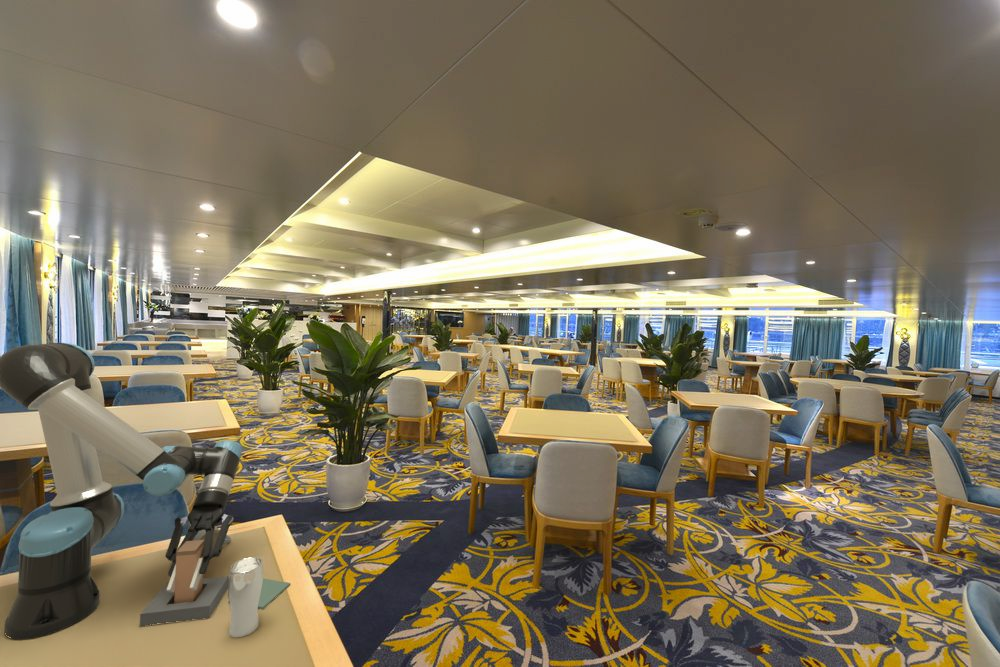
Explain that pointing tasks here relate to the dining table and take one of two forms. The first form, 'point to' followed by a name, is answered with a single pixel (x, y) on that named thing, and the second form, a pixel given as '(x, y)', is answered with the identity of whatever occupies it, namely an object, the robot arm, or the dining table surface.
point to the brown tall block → (187, 571)
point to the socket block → (184, 604)
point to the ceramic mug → (202, 533)
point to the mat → (270, 591)
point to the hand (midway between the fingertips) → (181, 589)
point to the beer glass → (244, 595)
